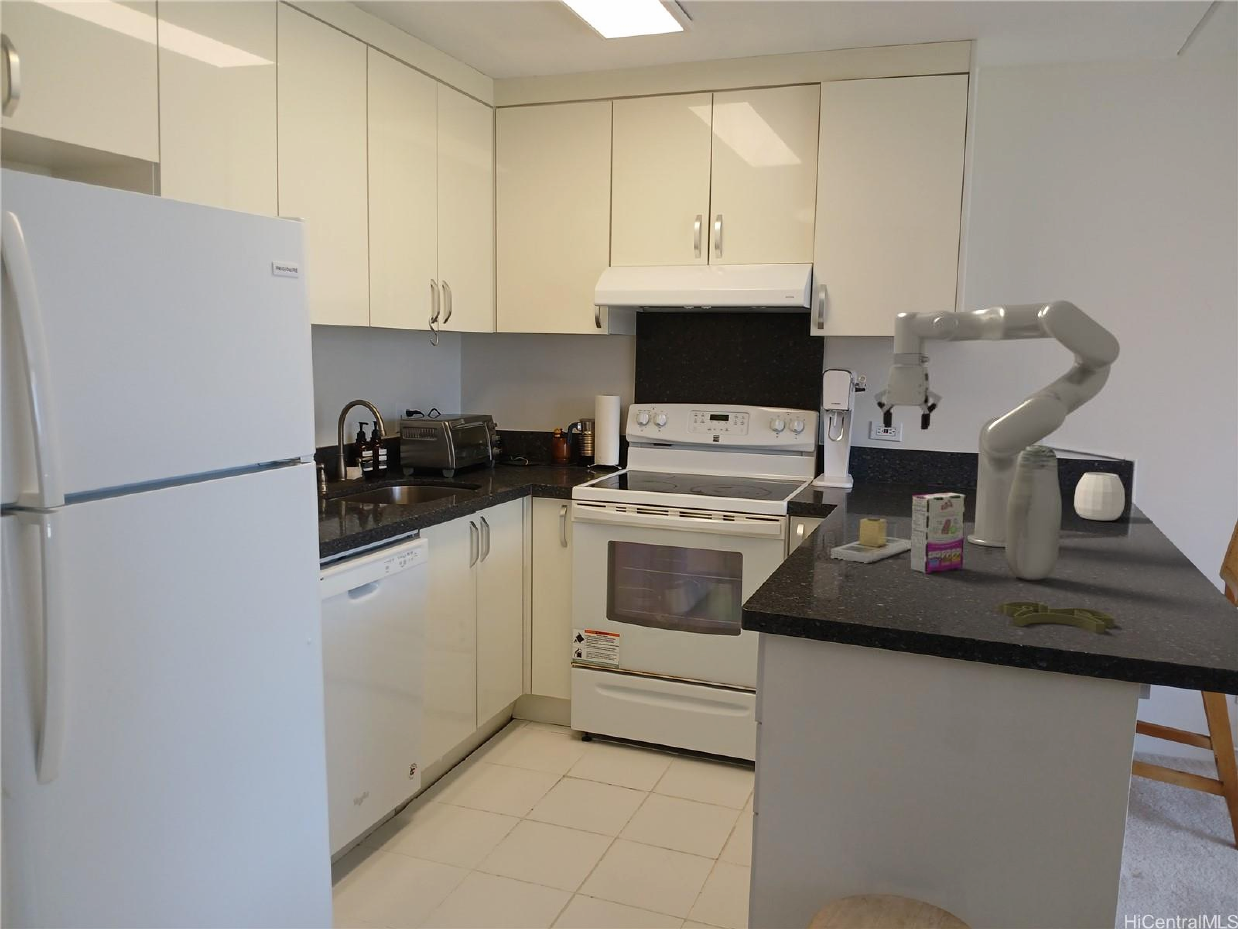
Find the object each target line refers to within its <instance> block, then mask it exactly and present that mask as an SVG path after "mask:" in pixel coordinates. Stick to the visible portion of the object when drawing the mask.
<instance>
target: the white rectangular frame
mask: <svg viewBox="0 0 1238 929" xmlns="http://www.w3.org/2000/svg"><path fill="white" fill-rule="evenodd" d="M859 541H860V540H858V541H854V542H850V543H848V544H844V545H841V546H840V545H839V546H838V547H833V548H831V549H830V559H834V558H838V559H837V560H840V559H843V560H842V561H846V562H847V561H848V562H853V561H859V562H864V563H863V564H866V563H868V564H870V563H869V562H871V563H873V562H872V561H874V562H876V561H879V560H881V558H882V559H885V558H888V557H891V556H894V555H897V554H899V553H902V552H905V551H908V550H911V539H904V538H902V539H901V538H897V537H889V536H886V546H884V547H881V548H874V547H867V546H860V545H859ZM859 562H858V563H859Z"/></svg>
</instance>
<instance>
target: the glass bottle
mask: <svg viewBox="0 0 1238 929" xmlns="http://www.w3.org/2000/svg"><path fill="white" fill-rule="evenodd" d="M1058 474H1059V473H1058V457H1057V455H1056V452H1055V451H1054V450H1053V449H1052V448H1051V447H1049V446H1047V445H1043V444H1036V445H1035V444H1033V445H1031V446H1028V447H1026V448H1024V449H1023V450H1022V451H1021V452H1020V454H1019V457H1018V461H1017V468H1016V473H1015V478H1014V481H1013V484H1012V487H1011V490H1010V494H1009V498H1008V504H1007V518H1006V543H1005V547H1004V548H1005V550H1004V553H1005V561H1006V564H1007V567H1008V569H1009V570H1010V572H1011V573H1012V574H1013V575H1014V576H1016V577H1018V578H1020V579H1023V580H1027V581H1038V580H1042V579H1045V578H1047V577H1048V576H1050V574H1052V573H1053V571H1054V570H1055V568H1056V565H1057V562H1058V558H1059V549H1060V548H1059V547H1060V533H1061V524H1062V513H1063V512H1062V508H1063V506H1062V505H1063V504H1062V494H1061V490H1060V489H1061V488H1060V484H1059V477H1058Z"/></svg>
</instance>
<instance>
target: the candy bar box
mask: <svg viewBox="0 0 1238 929" xmlns="http://www.w3.org/2000/svg"><path fill="white" fill-rule="evenodd" d="M911 499H912V507H911V509H912V510H911V511H912V512H911V536H910V538H911V539H910V540H911V549H910V566H909V567H910V570H912V571H914V572H918V573H921V572H922V574H925V575H926V574H927V573H928V574H933V573H932V572H936V573H941V572H943V573H944V572H948V571H949V570H950V571H955V570H962V569H963V568H964V566H963V564H964V562H963V561H964V560H963V559H964V557H963V556H964V538H965V537H964V536H965V534H964V533H965V531H964V530H965V512H966V510H965V507H966V495H965V494H961V493H954V492H945V493H944V492H943V493H933V494H921V495H919V494H918V495H912V498H911ZM950 571H949V572H950Z"/></svg>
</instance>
